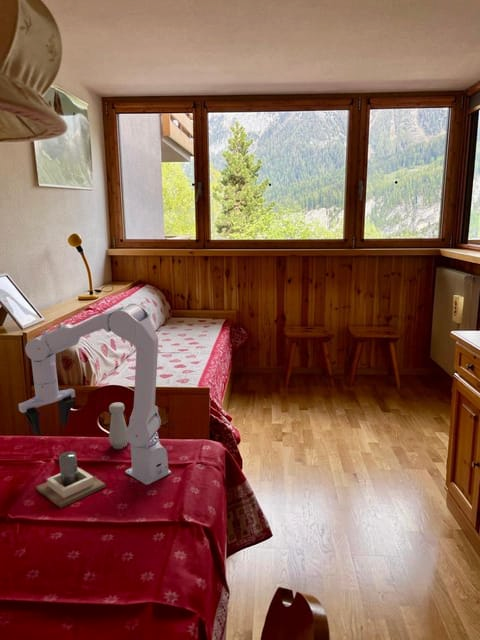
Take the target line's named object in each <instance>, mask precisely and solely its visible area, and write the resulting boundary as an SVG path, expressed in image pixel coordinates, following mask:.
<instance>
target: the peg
mask: <svg viewBox="0 0 480 640" xmlns="http://www.w3.org/2000/svg"><path fill="white" fill-rule="evenodd" d="M77 458H78V457H77V453H76V452H75V451H65V452H62V453H60V454H59V455H58V461H59V470H60V471H59V473H61V482H62V485H63V486H64V487H67V486H69V485H71V484H73V483H76V482H78V481H79V479H78V469H77V467H78V459H77Z"/></svg>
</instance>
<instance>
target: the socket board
mask: <svg viewBox="0 0 480 640" xmlns="http://www.w3.org/2000/svg"><path fill="white" fill-rule="evenodd" d="M77 469H78V479H79V481H78V482H76V483H73V484H71V485H69V486H67V487H64V486H63V485H62V482H61V473H60V472H59V473H58V474H55V475H53V476H50V477H48V478H46V481H45V482H43V483H42V484H39V485H36V490H37V491H38V492H39V493H40V494H42V495H43V496H44V497H46V498H47V499H48V500H50V501H51V502H52V503H53V504H54V505H56V506H58V508H60V509H63V508H64V507H67V506H69V505H71V504H72V503H75V502H77V501H79V500H81V499H82V498H85V497H88V496H89V495H92V494H93V493H96V492H98V491H100V490H103V488H106V483H105V482H103V481H102V480H101V479H98V477H96V476H94V475H92V474H91V473H89V472H87V471H86V470H85V469H83V468H81V467H78V466H77Z"/></svg>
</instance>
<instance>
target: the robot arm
mask: <svg viewBox="0 0 480 640" xmlns="http://www.w3.org/2000/svg"><path fill="white" fill-rule="evenodd" d="M150 315H151V314H150V313H149V311H147V310H146V309H145V308H144V307H143V306H142V305H140V304H138V303H130V304H128V305H126V306H125V307H124V306H120V307H117V308H116V307H115V308H113V309H110V310H107V311H104V312H102V313H100V314H99V315H98V314H97V315H96V316H94V317H92V318H90V319H88V320H86V321H83V322H81V323H79V324H77V325H73V324H71V323H64V322H63V323H60V324H57V325H56V328H55V329H53V330H50V331H47V330H45V331H44V332H42V333H41V334H40V335H38V336H36V337H35V338H31V339H30V340H28V342H26V345H25V346H24V347H25V354H26V356H27V357H28V358H29V359H30V362H31V367H32V376H33V377H32V378H33V385H34V395H35V396H34V397H32V398H30V399H28V400H26V401H23V402H20V403H18V410H19V412H21V413H23V415H24V416H25V417H26V419H27V420H28V422H29V423H30V425H31V429H32V430H33V434H34V435H35V436H41V427H40V414H41V413H40V412H39V411H38V410H37V408H40V407H43V406H46V405H49V404H52V403H57V406H58V409H59V418H60V423H61V425H63V426H65V427H67V426H68V423H69V416H70V413H71V410H72V408H73V406H74V403H75V401H74V399H73V398H76V392H75V391H76V390H75V389H73V388H68V389H63V390H59V382H58V373H57V364H56V363H57V362H56V359H57V358H56V357H57V356H56V355H57V354H58V353H60V352H63V351H65V350H67V349H69V348H72V347H74V346H77V345H78V344H79V342H80V339H81V338H82V337H84V336H87V335H90V334H92V333H95V332H97V331H100V330H104V331H105V332H107V333H110V332H111V333H113V334H114V335H116V336H117V337H119V338H121V339H123V340H125V341H127V342H128V343H130V344H132V346H134V347H135V351H136V352H135V369H134V371H135V374H134V394H133V395H134V397H133V409H132V412H131V415H130V417H129V424H128V426H126V427H127V429H126V432H125V436H126V439H127V441H128V443H129V445H130V458H131V467H129V468H128V469H126V470H124V472H125V474H127V475H129V476H130V477H132V478H135V480H138V481H140V482H141V483H143V484H144V485H150V484H152V483H154V482H156V481H158V480H160V479H162V478H164V477H165V476H167V475H171V473H172V471H171V470H170V469H169V461H168V459H169V458H168V451H167V449H166V448H165V447H164V446H163V445H162V444H161V442H160V439H159V433H158V429H160V427H161V423H162V420H161V417H160V415H159V407H158V406H157V405H156V388H157V372H158V356H159V354H158V353H159V337H158V333H156V330H155V328H154V326H153V324H152V321H151V316H150Z"/></svg>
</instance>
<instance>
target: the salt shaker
mask: <svg viewBox="0 0 480 640" xmlns="http://www.w3.org/2000/svg"><path fill="white" fill-rule="evenodd" d="M108 411H109V413H110V414H111V415H110V422H109V423H110V424H109V434H108V441H109V443H110V445H111V447H112V446H113V447H112V448H113V449H115V450H120V449H121V450H122V449H124V448H126V447H127V446H128V443H129V442H128V441H127V439H126V436H125V432H126V429H127V427H128V426H127V424H126V421H125V416H124V411H125V404H124V403H123V402H119V401H117V402H112V403H111V404H110V405H109V406H108ZM125 446H126V447H125ZM123 447H124V448H123Z"/></svg>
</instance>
